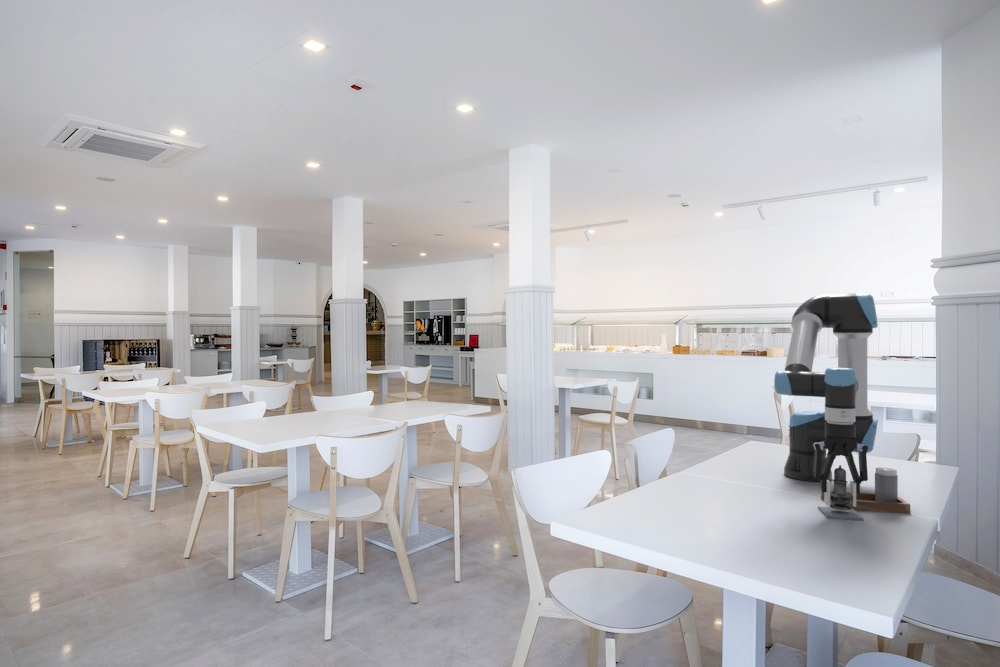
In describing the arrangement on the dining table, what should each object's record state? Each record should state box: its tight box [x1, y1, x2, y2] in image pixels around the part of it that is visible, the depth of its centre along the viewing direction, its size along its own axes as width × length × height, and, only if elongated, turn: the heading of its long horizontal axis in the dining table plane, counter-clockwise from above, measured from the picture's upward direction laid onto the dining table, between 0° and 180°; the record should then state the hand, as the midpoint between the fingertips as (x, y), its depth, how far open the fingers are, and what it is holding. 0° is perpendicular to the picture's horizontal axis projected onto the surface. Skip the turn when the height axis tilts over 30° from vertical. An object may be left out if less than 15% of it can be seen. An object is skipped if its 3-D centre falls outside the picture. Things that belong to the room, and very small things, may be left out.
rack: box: [820, 490, 911, 514], centre depth 171 cm, size 10×20×2 cm, turn 76°
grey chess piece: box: [828, 464, 852, 510], centre depth 163 cm, size 6×6×12 cm
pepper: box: [874, 466, 899, 503], centre depth 170 cm, size 6×6×11 cm
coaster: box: [817, 505, 865, 521], centre depth 163 cm, size 9×9×1 cm
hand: (840, 504), depth 163 cm, fingers closed on grey chess piece, 6 cm apart
